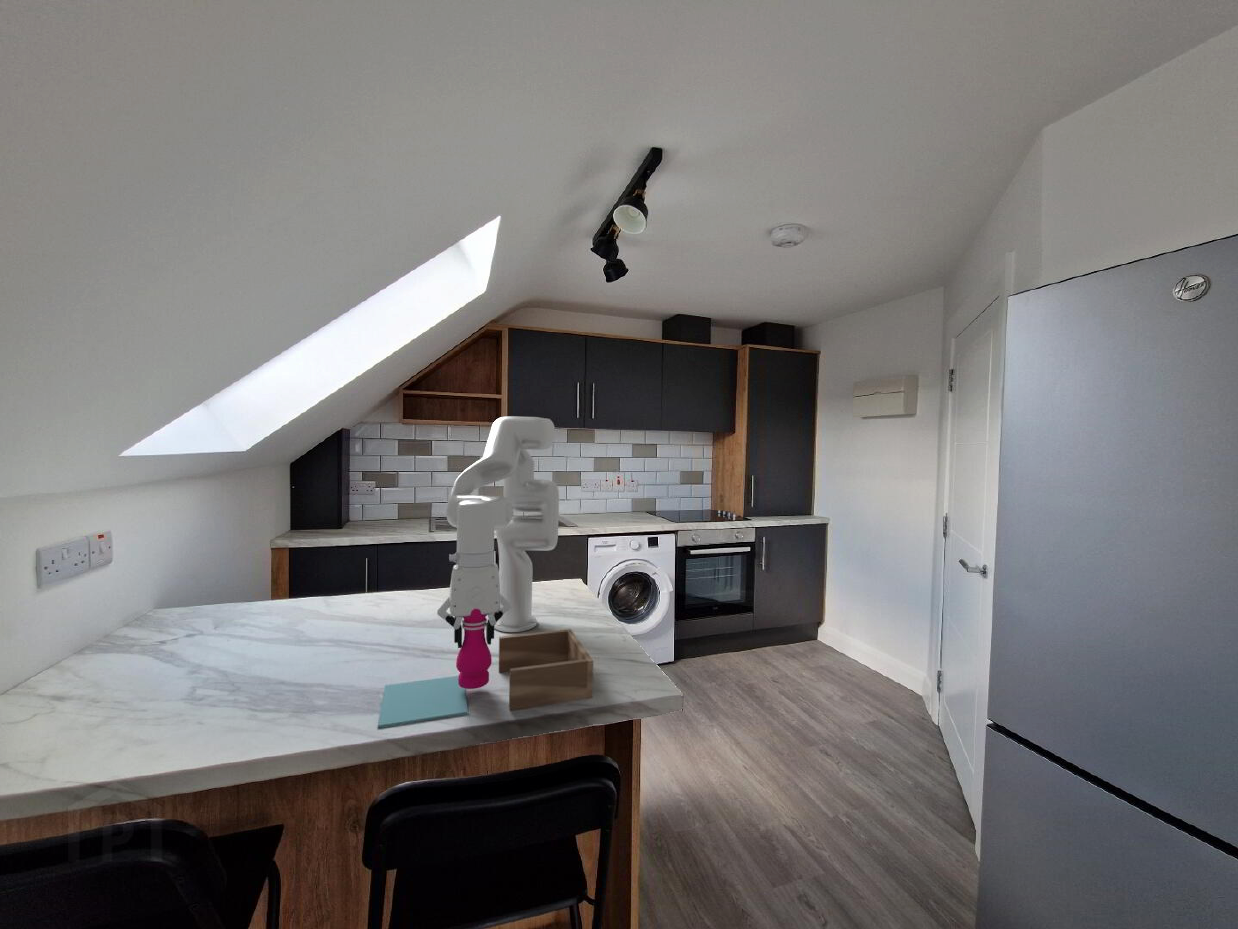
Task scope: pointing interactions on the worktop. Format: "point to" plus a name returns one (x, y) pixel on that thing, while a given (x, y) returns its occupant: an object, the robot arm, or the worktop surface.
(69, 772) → the worktop surface
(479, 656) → the pepper mill
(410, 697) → the mat
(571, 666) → the open side box
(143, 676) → the worktop surface
